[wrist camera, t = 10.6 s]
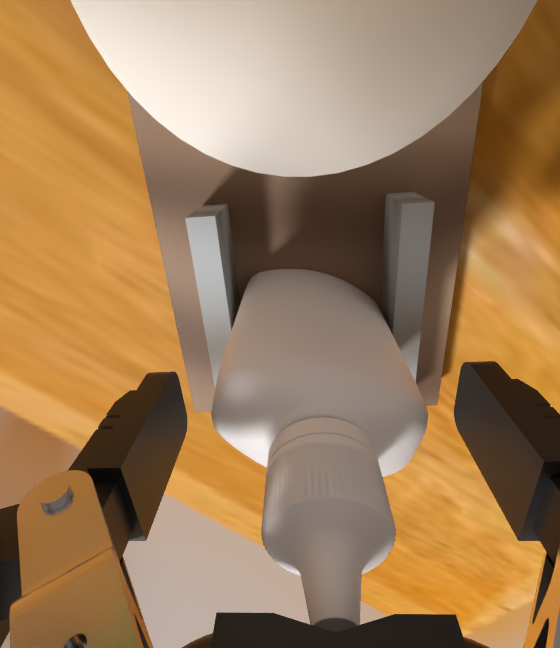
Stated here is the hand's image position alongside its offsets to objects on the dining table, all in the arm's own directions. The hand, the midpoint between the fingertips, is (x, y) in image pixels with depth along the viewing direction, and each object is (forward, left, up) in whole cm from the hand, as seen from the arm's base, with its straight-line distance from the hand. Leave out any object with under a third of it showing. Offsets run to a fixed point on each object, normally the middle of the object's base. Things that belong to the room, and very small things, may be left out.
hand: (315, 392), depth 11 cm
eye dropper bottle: (0, 0, -6) cm, 6 cm away
